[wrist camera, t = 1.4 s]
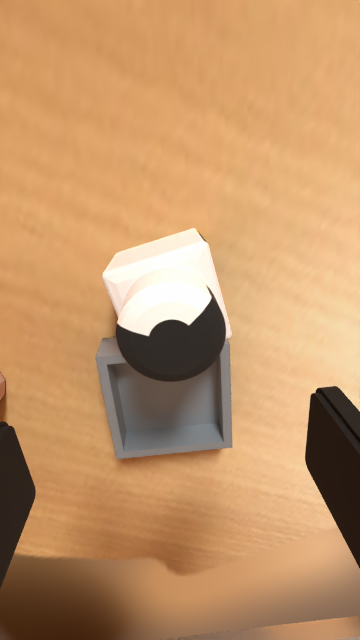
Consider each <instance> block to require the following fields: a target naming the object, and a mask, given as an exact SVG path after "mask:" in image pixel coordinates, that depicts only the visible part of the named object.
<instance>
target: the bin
mask: <svg viewBox="0 0 360 640" xmlns="http://www.w3.org/2000/svg"><path fill="white" fill-rule="evenodd" d="M95 358H96V363H97V368H98V372H99V377H100V382H101V387H102V392H103V396H104V401H105V406H106V411H107V416H108V420H109V425H110V430H111V435H112V440H113V444H114V449H115V454H116V459H123V458H133V457H143V456H153V455H163V454H172V453H182V452H192V451H202V450H212V449H222V448H232V416H231V379H230V344H229V342H228V340H225V344H224V346H223V349H222V351H221V353H220V355H219V357H218V358H217V360H216V361H215V362H214V363H213V364H212V365H211V366H210V367H209V368H208V369H207V370H206V371H204V372H203V373H201V374H199V375H197V376H195V377H193V378H190V379H187V380H183V381H177V382H164V381H158V380H154V379H151V378H148V377H146V376H144V375H142V374H140V373H139V372H137V371H136V370H134V369H133V368H132V367H131V366H130V365H129V364H128V363H127V362H126V360H125V359H124V357H123V356H122V354H121V352H120V350H119V347H118V344H117V338H116V337H114V338H103V339H102V341H101V344H100V346H99V349H98V351H97V354H96V357H95Z"/></svg>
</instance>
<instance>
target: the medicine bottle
mask: <svg viewBox="0 0 360 640" xmlns="http://www.w3.org/2000/svg"><path fill="white" fill-rule="evenodd" d="M102 280H103V282H104V285H105V287H106V289H107V292H108V294H109V297H110V299H111V301H112V304H113V306H114V309H115V311H116V314H117V316H118V322H117V328H116V338H117V344H118V347H119V350H120V352H121V354H122V356H123V357H124V359H125V360H126V362H127V363H128V364H129V365H130V366H131V367H132V368H133V369H134V370H136V371H137V372H139V373H140V374H142V375H144V376H146V377H148V378H151V379H154V380H158V381H164V382H177V381H183V380H187V379H190V378H193V377H195V376H197V375H199V374H201V373H203V372H204V371H206V370H207V369H208V368H209V367H210V366H211V365H212V364H213V363H214V362H215V361H216V360H217V358H218V357H219V355H220V353H221V351H222V349H223V346H224V344H225V340H228V339H230V338H231V336H232V331H231V328H230V324H229V320H228V316H227V313H226V309H225V305H224V301H223V298H222V294H221V290H220V286H219V283H218V279H217V275H216V272H215V268H214V264H213V260H212V257H211V253H210V249H209V245H208V244H207V242H206V241H205V239H204V238H203V237H202V235H201V234H200V233H199V231H198V230H197V229H195V228H192V229H189V230H186V231H183V232H180V233H177V234H174V235H170V236H167V237H164V238H161V239H158V240H155V241H152V242H149V243H145V244H142V245H139V246H136V247H133V248H130V249H127V250H124V251H121V252H118V253H116V254H115V256H114V257H113V259H112V260H111V262H110V263H109V265H108V266H107V268H106V269H105V271H104V272H103V274H102Z"/></svg>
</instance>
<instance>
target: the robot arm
mask: <svg viewBox="0 0 360 640" xmlns="http://www.w3.org/2000/svg"><path fill="white" fill-rule="evenodd" d="M305 460H306V465H307V468H308V470H309V472H310V474H311V476H312V478H313V480H314V482H315V484H316V485H317V487H318V489H319V491H320V493H321V495H322V497H323V499H324V501H325V503H326V505H327V507H328V508H329V510H330V512H331V514H332V516H333V518H334V520H335V522H336V524H337V526H338V528H339V529H340V531H341V533H342V535H343V537H344V539H345V541H346V543H347V545H348V547H349V549H350V550H351V552H352V554H353V556H354V558H355V560H356V562H357V564H358V566H359V568H360V412H359V410H358V409H357V408H356V407H355V406H354V405H353V404H352V402H351V401H350V400H349V399H348V398H347V397H346V396H345V394H344V393H343V392H342V391H341V390H340V389H339V388H338V387H336V386H333V387H323V388H318V389H317V390H316V393H313V394H311V398H310V409H309V420H308V431H307V442H306V453H305ZM34 499H35V486H34V483H33V480H32V478H31V475H30V472H29V469H28V466H27V464H26V461H25V458H24V455H23V452H22V450H21V447H20V444H19V441H18V438H17V436H16V433H15V430H14V428H13V427H12V426H8V424H7V423H6V422H0V587H1V585H2V582H3V580H4V577H5V574H6V572H7V569H8V567H9V564H10V562H11V559H12V557H13V554H14V551H15V549H16V546H17V544H18V541H19V538H20V536H21V533H22V531H23V528H24V525H25V523H26V520H27V518H28V515H29V513H30V510H31V507H32V505H33V502H34ZM162 640H360V616H357V617H346V618H336V619H327V620H319V621H310V622H302V623H294V624H285V625H276V626H268V627H260V628H252V629H243V630H235V631H226V632H218V633H210V634H203V635H194V636H186V637H178V638H170V639H162Z"/></svg>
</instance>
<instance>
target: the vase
mask: <svg viewBox="0 0 360 640" xmlns="http://www.w3.org/2000/svg"><path fill="white" fill-rule="evenodd" d="M4 394H5V379H4V377H3V376H2V374H1V373H0V400H1V399H2V397H3V396H4Z"/></svg>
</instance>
